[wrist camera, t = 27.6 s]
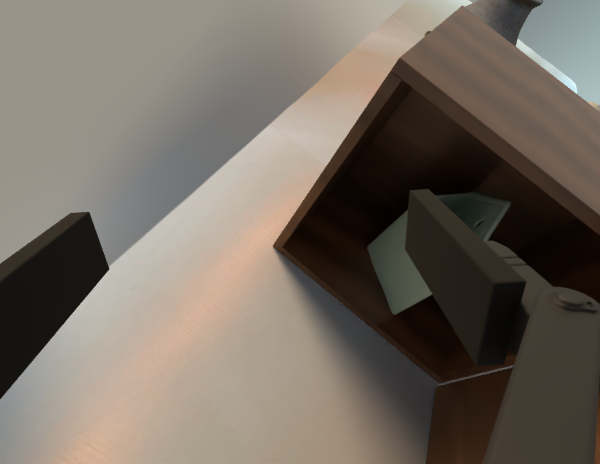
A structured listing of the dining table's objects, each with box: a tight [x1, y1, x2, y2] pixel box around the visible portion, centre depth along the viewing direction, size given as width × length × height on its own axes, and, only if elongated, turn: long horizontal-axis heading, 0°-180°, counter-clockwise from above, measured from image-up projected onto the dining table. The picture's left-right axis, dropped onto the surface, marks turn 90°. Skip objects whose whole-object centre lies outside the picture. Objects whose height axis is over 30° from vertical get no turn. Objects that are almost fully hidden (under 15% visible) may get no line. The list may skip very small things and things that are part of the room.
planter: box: [367, 192, 511, 315], centre depth 48 cm, size 16×8×20 cm, turn 154°
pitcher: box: [465, 0, 543, 46], centre depth 108 cm, size 21×22×25 cm
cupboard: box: [273, 6, 600, 383], centre depth 45 cm, size 22×30×30 cm
